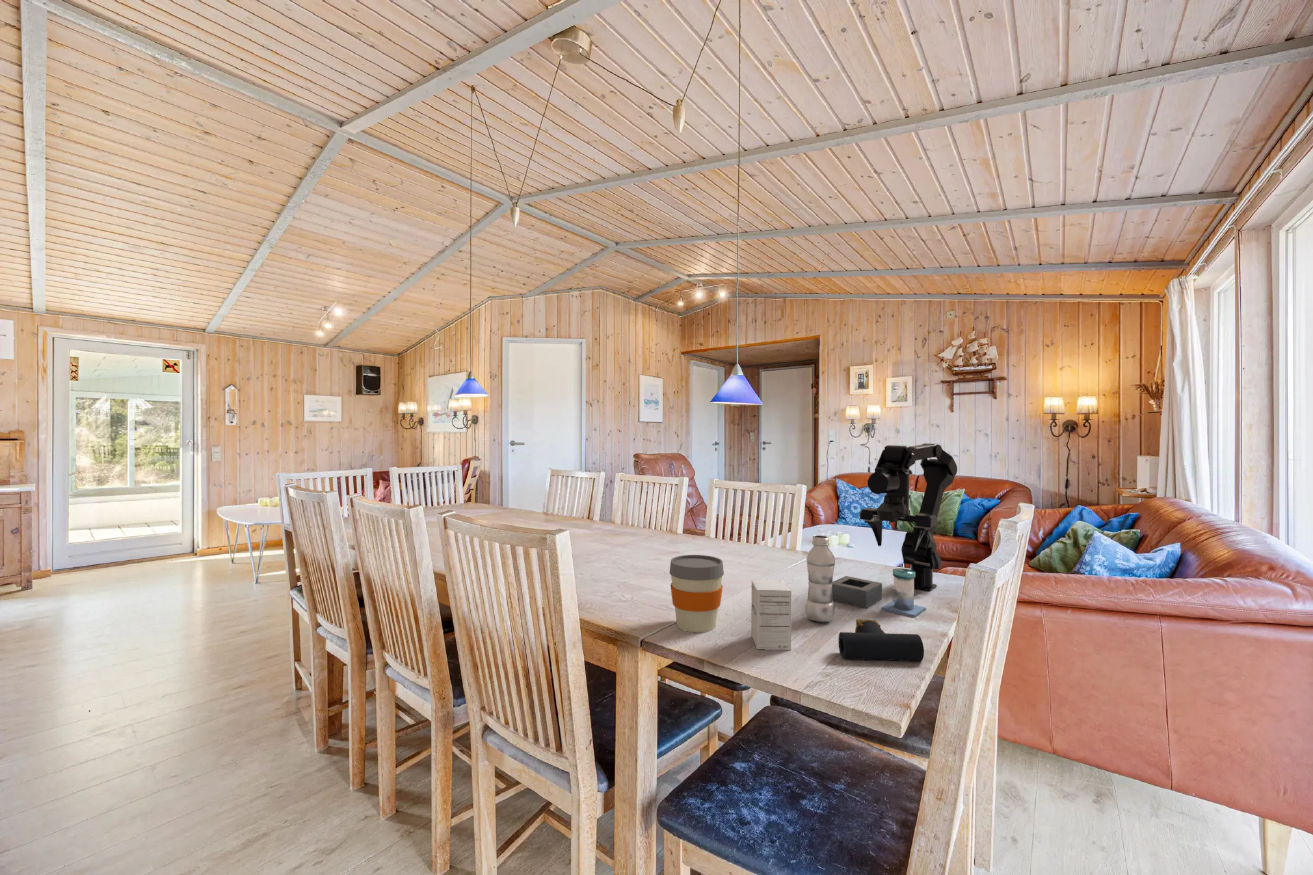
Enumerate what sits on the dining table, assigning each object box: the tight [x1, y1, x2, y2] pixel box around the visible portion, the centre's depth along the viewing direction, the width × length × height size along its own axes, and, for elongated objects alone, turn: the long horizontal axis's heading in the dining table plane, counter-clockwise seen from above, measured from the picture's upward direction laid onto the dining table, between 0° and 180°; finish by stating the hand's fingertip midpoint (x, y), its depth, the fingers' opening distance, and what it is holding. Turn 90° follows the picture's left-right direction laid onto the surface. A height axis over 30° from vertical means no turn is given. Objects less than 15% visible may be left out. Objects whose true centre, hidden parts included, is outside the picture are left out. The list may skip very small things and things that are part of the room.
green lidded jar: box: [892, 567, 915, 610], centre depth 136 cm, size 5×5×9 cm
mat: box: [881, 599, 927, 619], centre depth 136 cm, size 8×8×1 cm
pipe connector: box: [837, 618, 925, 662], centre depth 111 cm, size 12×5×15 cm
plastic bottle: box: [804, 534, 836, 623], centre depth 128 cm, size 6×7×20 cm
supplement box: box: [750, 579, 792, 651], centre depth 115 cm, size 7×7×13 cm
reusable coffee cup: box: [669, 554, 725, 633], centre depth 125 cm, size 12×13×15 cm
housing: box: [832, 575, 883, 610], centre depth 144 cm, size 10×10×4 cm
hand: (896, 548), depth 147 cm, fingers open, 9 cm apart
